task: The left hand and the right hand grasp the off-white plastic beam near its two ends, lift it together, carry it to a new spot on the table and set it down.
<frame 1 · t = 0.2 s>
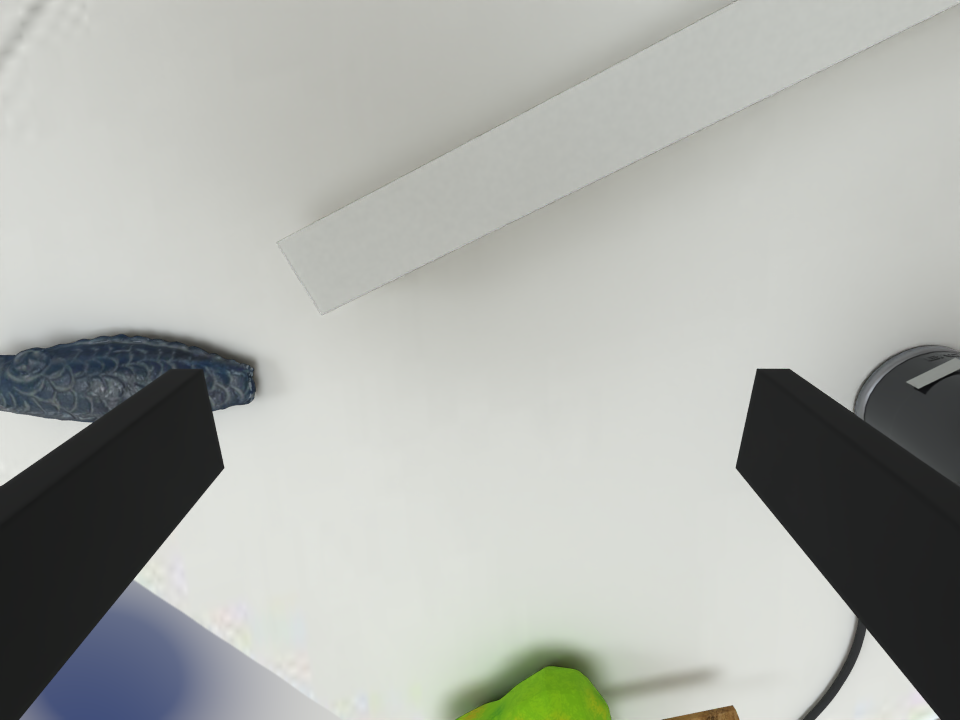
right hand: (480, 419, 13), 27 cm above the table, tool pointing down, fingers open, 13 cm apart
beam: (719, 59, 33), on the table
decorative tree: (575, 693, 56), on the table
fish model: (131, 372, 42), on the table
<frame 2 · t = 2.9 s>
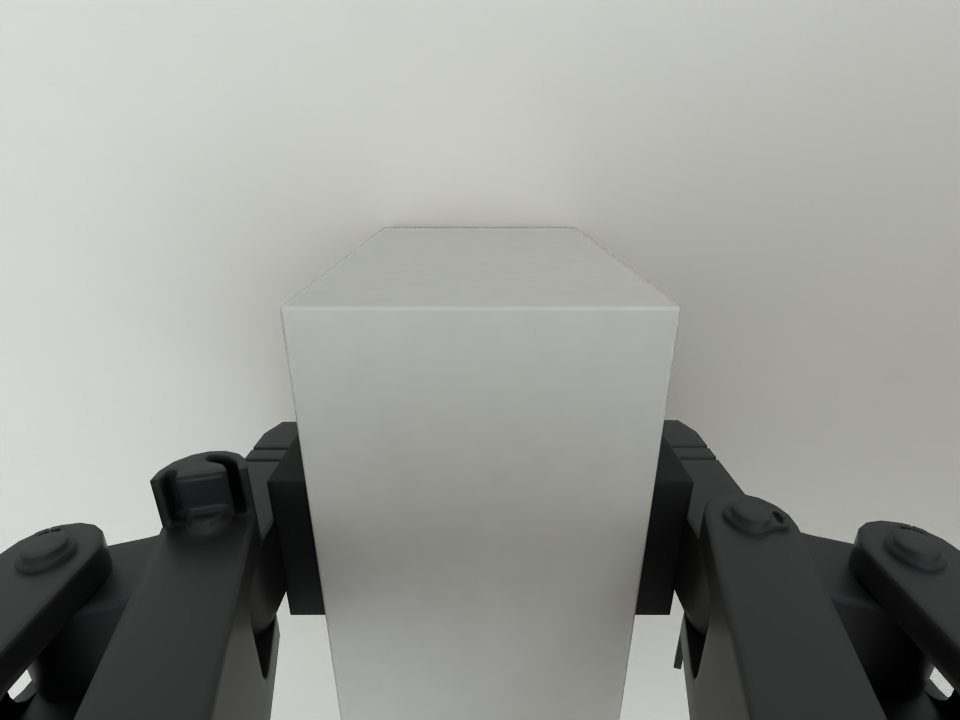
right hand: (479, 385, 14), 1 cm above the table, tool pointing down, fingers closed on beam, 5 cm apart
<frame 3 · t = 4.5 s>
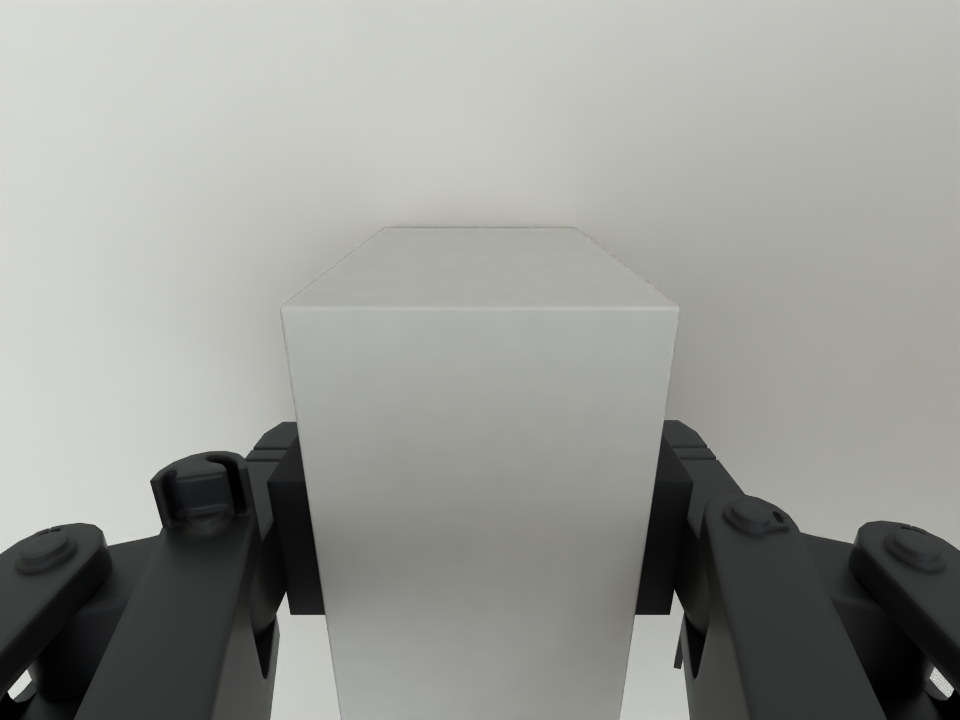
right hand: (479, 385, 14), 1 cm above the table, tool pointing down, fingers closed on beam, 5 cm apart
when the right hand's fingers open (2 cm above the table, at t = 10.1 s): beam stays where it is, on the table.
when the left hand's fingers open (3 cm above the table, at t = 10.3 s): beam stays where it is, on the table.
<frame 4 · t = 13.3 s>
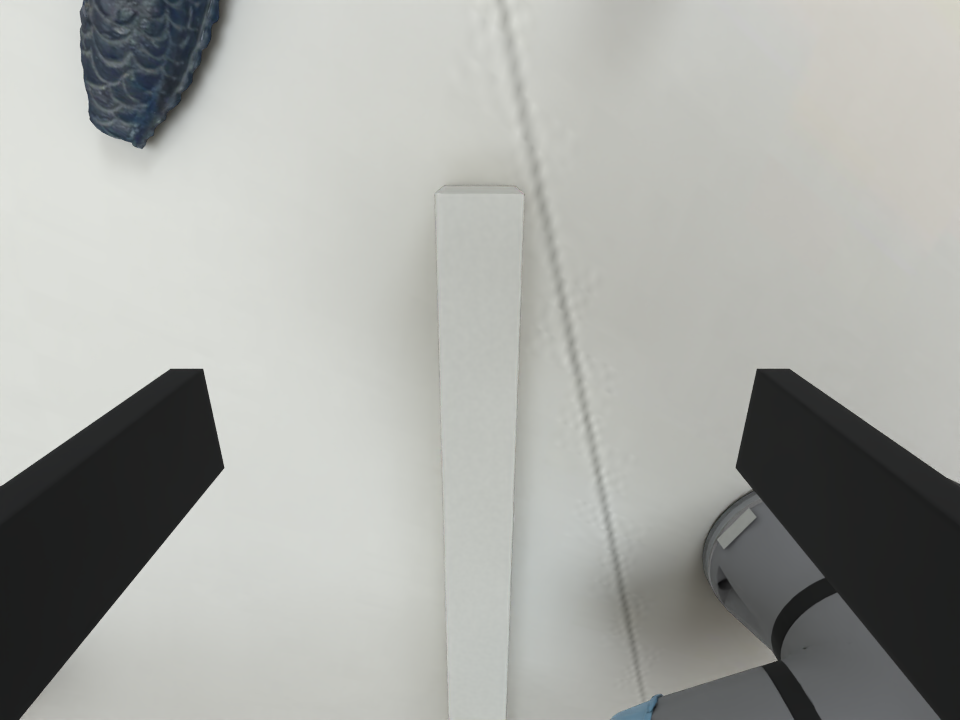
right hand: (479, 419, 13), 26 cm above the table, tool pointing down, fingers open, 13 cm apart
beam: (478, 530, 46), on the table
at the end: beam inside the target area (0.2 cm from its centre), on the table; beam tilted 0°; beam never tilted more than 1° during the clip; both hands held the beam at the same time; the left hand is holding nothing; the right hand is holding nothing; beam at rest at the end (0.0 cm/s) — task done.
